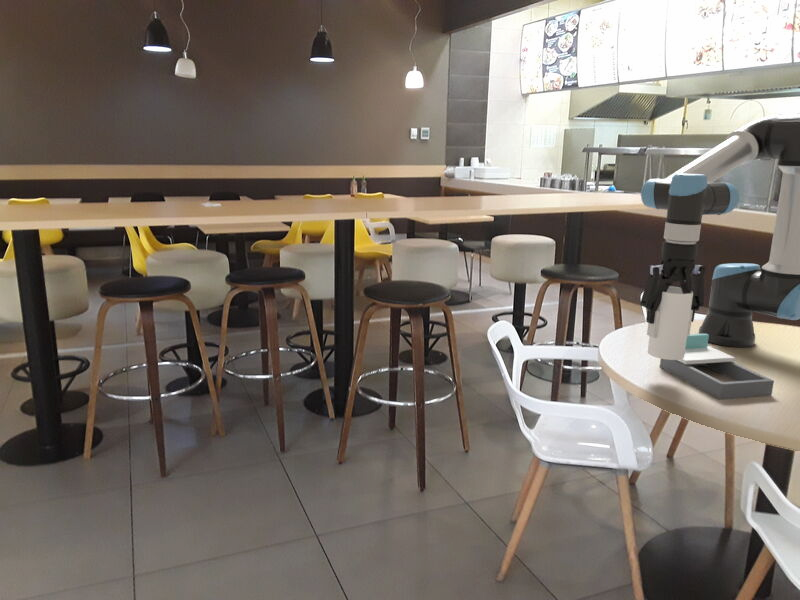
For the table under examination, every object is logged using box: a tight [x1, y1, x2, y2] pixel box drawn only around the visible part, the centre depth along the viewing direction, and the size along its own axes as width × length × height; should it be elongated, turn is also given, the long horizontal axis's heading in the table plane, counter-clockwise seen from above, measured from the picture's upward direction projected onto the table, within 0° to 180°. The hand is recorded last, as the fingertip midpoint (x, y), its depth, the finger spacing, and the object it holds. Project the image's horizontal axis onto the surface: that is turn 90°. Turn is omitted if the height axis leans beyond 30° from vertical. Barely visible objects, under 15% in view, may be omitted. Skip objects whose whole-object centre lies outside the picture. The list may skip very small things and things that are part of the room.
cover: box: [678, 333, 736, 365], centre depth 158 cm, size 14×9×4 cm
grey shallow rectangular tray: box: [659, 358, 775, 400], centre depth 153 cm, size 14×22×4 cm, turn 13°
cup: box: [647, 286, 693, 360], centre depth 149 cm, size 8×8×16 cm
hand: (668, 335), depth 150 cm, fingers closed on cup, 8 cm apart
